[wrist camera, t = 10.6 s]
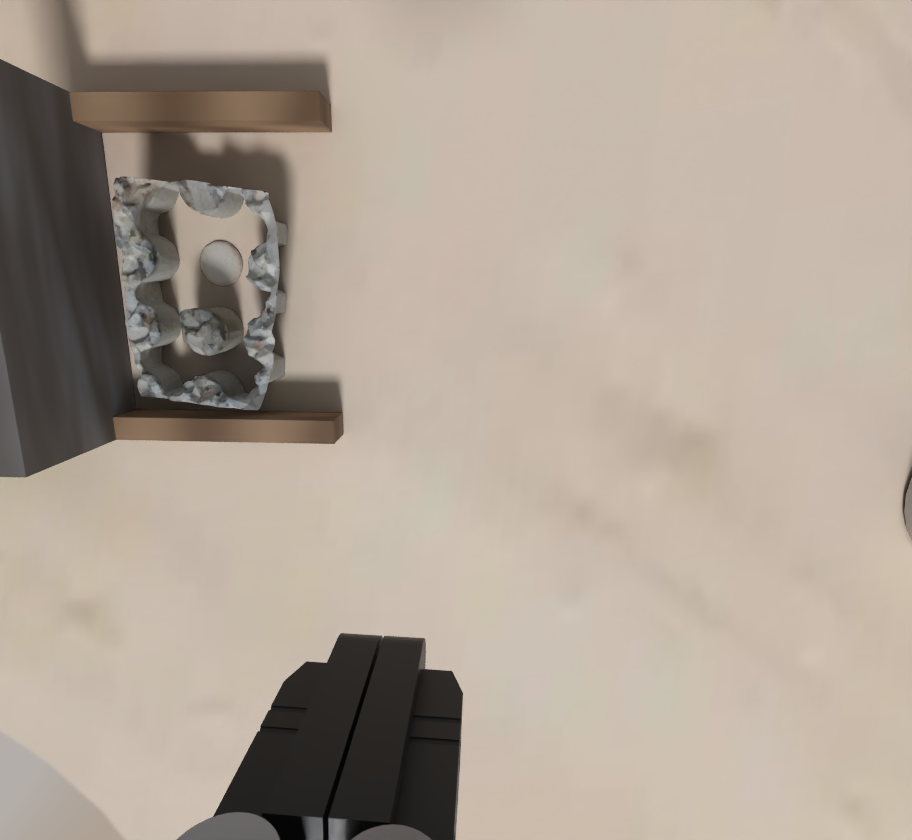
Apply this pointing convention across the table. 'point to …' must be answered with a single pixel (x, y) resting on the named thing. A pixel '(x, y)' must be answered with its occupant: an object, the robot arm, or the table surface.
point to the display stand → (100, 270)
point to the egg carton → (221, 265)
